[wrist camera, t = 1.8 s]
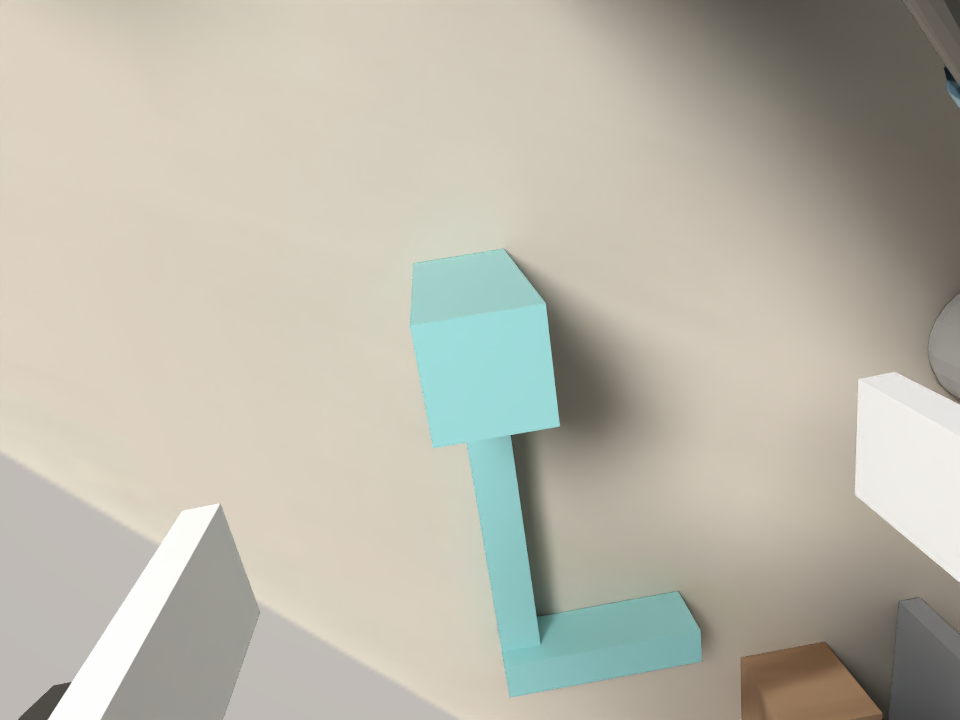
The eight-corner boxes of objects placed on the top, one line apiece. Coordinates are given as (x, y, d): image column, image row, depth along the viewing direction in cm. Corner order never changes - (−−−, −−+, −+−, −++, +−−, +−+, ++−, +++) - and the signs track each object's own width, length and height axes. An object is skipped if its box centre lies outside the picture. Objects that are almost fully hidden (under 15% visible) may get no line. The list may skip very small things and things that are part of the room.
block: (740, 656, 37) (787, 731, 32) (823, 640, 37) (882, 713, 33) (741, 720, 39) (785, 801, 34) (821, 705, 39) (876, 783, 34)
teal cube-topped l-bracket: (413, 263, 28) (409, 325, 19) (659, 223, 28) (778, 265, 19) (484, 656, 35) (508, 844, 26) (679, 620, 36) (772, 792, 26)
